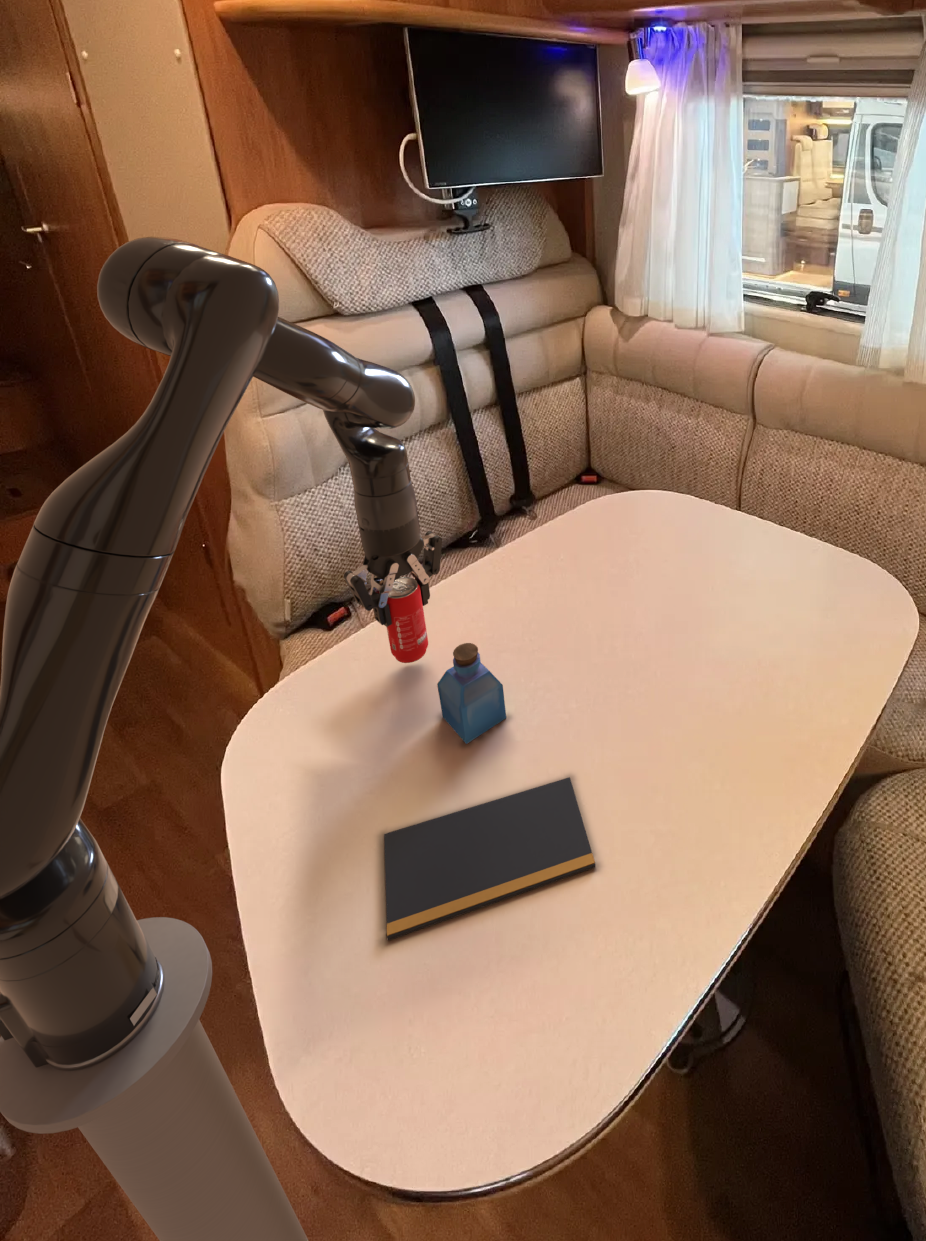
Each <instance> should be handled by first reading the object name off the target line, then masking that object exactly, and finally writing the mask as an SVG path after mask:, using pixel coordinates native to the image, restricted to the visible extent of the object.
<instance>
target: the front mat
mask: <svg viewBox="0 0 926 1241" xmlns="http://www.w3.org/2000/svg"><path fill="white" fill-rule="evenodd" d="M584 824H585V823H584V821H583V817H582V813H581V810H580V807H579V803H578V800H577V797H576V792H575V789H574V787H573V783H572V779H571V777H570V776H569V777H565V778H563V779H559V780H555V781H553V782H549V783H546V784H543V785H540V786H536V787H533V788H530V789H526V790H523V791H520V792H517V793H513V794H510V795H507V796H503V797H501V798H497V799H494V800H490V801H488V802H485V803H480V804H478V805H474V806H471V807H468V808H464V809H461V810H458V811H455V812H452V813H451V812H450V813H448V814H444V815H441V816H438V817H434V818H431V819H428V820H426V821H422V822H419V823H415V824H413V825H409V826H406V827H402V828H399V829H396V830H393V831H389V832H386V833H384V834H383V842H384V843H383V844H384V848H383V849H384V875H385V876H384V878H385V909H386V910H385V911H386V914H385V915H386V938H387V941H392V940H393V939H396V938H399V937H402V936H404V935H407V934H410V933H411V934H412V933H413V932H416V931H419V930H422V929H425V928H428V927H430V926H433V925H436V924H439V923H442V922H445V921H448V920H450V919H453V918H456V917H459V916H462V915H465V914H467V913H470V912H473V911H476V910H479V909H481V908H484V907H487V906H489V905H492V904H495V903H499V902H501V901H504V900H506V899H510V898H512V897H516V896H519V895H521V894H525V893H527V892H530V891H532V890H536V889H538V888H541V887H544V886H546V885H549V884H552V883H555V882H558V881H560V880H563V879H566V878H569V877H571V876H575V875H578V874H581V873H583V872H586V871H588V870H591V869H594V868H596V861H595V858H594V854H593V852H592V847H591V845H590V844H591V843H590V841H589V837H588V834H587V831H586V828H585V825H584Z"/></svg>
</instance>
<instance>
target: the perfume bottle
mask: <svg viewBox="0 0 926 1241" xmlns="http://www.w3.org/2000/svg"><path fill="white" fill-rule="evenodd" d="M452 656H453V659H452V663H453V665H452V667H450V668H448V669H446V671H445V672H444V673H443V675H442V676H441V678H440V679H439V680H438V682H437V684H436V685H437V691H438V697H439V703H440V709H441V715H442V719H443V720H444V721H445V722H446V723H447V724H448V726H450V727H451V729H452V730H453V731H454V732H455V734H457V736H459V738H460V739H461V740H462V742H464V743H465V744H466V745H467V744H469V743H471V742H472V741H473V740H476V739H477V738H478V737H480V736H481V735H483V734H484V733H487V731H489V730H490V729H492V728H494V727H495V726H497V725H498V724H500V723H501V722H503V721H504V720H506V719H507V712H506V711H507V710H506V702H505V693H504V692H505V691H504V685H503V683H501V681H500V680H499V679H498V678H497V677H496V675H494V674H493V672H492V671H490V670H489V669H488V667H486V666H485V665H484V664H483V663H482V661H481V654H480V652H479V648H478V646H477V644H475V643H471V642H464V643H461V644H458V646H456V647H455V648H454V649H453V651H452Z"/></svg>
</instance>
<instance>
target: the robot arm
mask: <svg viewBox="0 0 926 1241" xmlns="http://www.w3.org/2000/svg"><path fill="white" fill-rule="evenodd" d="M96 292H97V296H96V297H97V300H98V304H99V307H100V310H101V312H102V314H103V316H104V317H105V319H106V320H107V322H109V324H110V325H111V327H113V329H115V330H116V331H117V332H119V334H121V335H122V336H124V337H125V338H126V339H128V340H130V341H132V342H133V343H135V344H138V345H139V346H141V347H143V348H146V349H148V350H152V351H154V352H158V353H160V354H163V355H166V356H168V357H169V362H168V364H167V367H166V369H165V371H164V374H163V376H162V379H161V380H160V382H159V384H158V386H157V389H155V392H154V394H153V397H152V398H151V400H150V403H149V404H148V405H147V407H146V409H145V410H144V412H143V413H142V415H141V416H140V417H139V418H138V419H137V421H136V422H135V423H134V424H133V425H132V426H131V427H130V428H129V429H128V431H126V432H125V433H124V434H123V435H121V436H120V437H119V438H118V439H117V440H115V441H114V442H113V443H112V444H110V445H109V446H108V447H106V448H104V449H103V450H101V452H99V453H98V454H97V455H95V456H93V458H91V459H90V460H89V461H87V462H85V463H84V464H83V465H82V466H81V467H79V468H78V469H77V470H76V471H74V472H73V473H72V474H71V475H69V476H68V477H67V478H66V479H64V481H63V482H62V483H60V484H59V485H58V486H57V487H56V488H55V489H54V490H53V491H52V492H51V493H50V495H49V496H47V498H46V499H45V500H44V503H43V504H42V506H41V507H40V509H39V511H38V513H37V515H36V517H35V520H34V521H33V525H32V527H31V529H30V532H29V535H28V537H27V539H26V542H25V543H24V546H23V549H22V551H21V552H20V553H21V554H20V556H19V558H18V560H17V563H16V564H15V568H14V570H13V573H12V577H11V579H10V584H9V587H8V591H7V595H6V604H5V611H4V620H3V631H2V644H1V645H2V646H1V674H0V1037H1V1036H2V1038H3V1039H4V1040H8V1039H11V1038H15V1040H16V1041H17V1043H18V1044H19V1045H20V1047H21V1048H22V1049H23V1051H24V1052H25V1054H26V1055H27V1056H28V1058H29V1059H30V1061H31V1062H32V1063H33V1065H34V1066H35V1067H36V1068H37V1067H40V1066H43V1065H47V1064H49V1065H51V1066H52V1067H53V1068H56V1069H58V1070H62V1071H76V1070H81V1069H85V1068H88V1067H91V1066H94V1065H96V1064H98V1063H100V1062H102V1061H104V1060H106V1059H108V1058H109V1057H111V1056H112V1055H114V1054H116V1053H117V1052H118V1051H120V1050H121V1049H122V1048H123V1047H125V1046H126V1045H127V1044H128V1043H129V1042H130V1041H132V1040H133V1039H134V1038H135V1037H136V1036H137V1035H138V1034H139V1032H140V1031H141V1030H142V1029H143V1028H144V1027H145V1025H146V1024H147V1023H148V1021H149V1020H150V1018H151V1017H152V1015H153V1014H154V1012H155V1010H156V1009H157V1007H158V1005H159V1002H160V1000H161V997H162V994H163V990H164V985H165V976H164V971H163V969H162V966H161V964H160V963H159V961H158V960H157V958H156V957H155V956H154V954H153V952H152V950H151V948H150V946H149V944H148V942H147V940H146V938H145V936H144V934H143V932H142V930H141V928H140V926H139V924H138V922H137V920H138V919H137V918H136V916H135V914H134V912H133V910H132V907H131V906H130V904H129V903H128V900H127V899H126V896H125V895H124V893H123V890H122V888H121V886H120V885H119V883H118V881H117V879H116V877H115V875H114V873H113V871H112V869H111V867H110V865H109V864H108V861H107V860H106V858H105V855H104V854H103V852H102V850H101V848H100V846H99V844H98V841H97V840H96V838H95V837H94V836H93V834H92V833H91V831H90V830H89V829H88V827H87V826H86V824H85V823H84V821H83V820H82V818H81V816H82V813H83V810H84V807H85V804H86V800H87V797H88V793H89V790H90V786H91V782H92V778H93V775H94V771H95V769H96V768H95V766H96V763H97V759H98V756H99V752H100V749H101V745H102V742H103V737H104V733H105V730H106V727H107V724H108V720H109V717H110V714H111V712H112V707H113V705H114V702H115V700H116V697H117V695H118V692H119V690H120V687H121V685H122V682H123V680H124V677H125V675H126V672H127V669H128V667H129V665H130V662H131V659H132V657H133V654H134V652H135V649H136V646H137V643H138V641H139V639H140V635H141V632H142V630H143V627H144V625H145V622H146V620H147V618H148V615H149V613H150V611H151V608H152V607H153V604H154V603H155V601H156V598H157V596H158V593H159V591H160V589H161V586H162V583H163V581H164V579H165V577H166V574H167V571H168V570H169V566H170V564H171V562H172V560H173V556H174V554H175V551H176V549H177V545H178V543H179V540H180V538H181V534H182V532H183V529H184V526H185V523H186V520H187V517H188V514H189V512H190V510H191V507H192V505H193V503H194V500H195V499H196V498H195V497H196V495H197V494H198V491H199V488H200V486H201V484H202V482H203V479H204V476H205V474H206V472H207V470H208V468H209V465H210V464H211V460H212V457H213V456H214V454H215V451H216V449H217V447H218V445H219V442H220V441H221V438H222V437H223V435H224V433H225V430H226V428H227V426H228V425H229V423H230V421H231V419H232V417H233V415H234V414H235V411H236V410H237V408H238V406H239V404H240V402H241V400H242V398H243V397H244V395H245V393H246V391H247V389H248V387H249V385H250V383H251V381H252V380H253V378H255V379H257V380H259V381H261V382H263V383H265V384H266V385H269V386H271V387H273V388H275V389H276V390H279V391H281V392H283V393H284V394H287V395H289V396H290V397H293V398H295V399H297V400H299V401H302V402H304V403H306V404H308V405H310V406H313V407H315V408H317V409H319V410H322V412H323V415H324V418H325V420H326V422H327V424H328V426H329V428H330V430H331V432H332V434H333V435H334V437H335V439H336V441H337V442H338V443H337V444H339V447H340V448H341V451H342V452H343V454H344V456H345V457H346V460H347V461H348V464H349V471H350V476H351V480H352V487H353V499H354V500H353V503H354V510H355V514H356V519H357V526H358V531H359V535H360V541H361V542H360V543H361V546H362V550H363V554H364V556H363V557H364V558H363V560H362V565H361V566H360V567H358V568H357V569H355V570H354V571H352V570H347V571H345V572H344V574H343V579H344V581H345V582H346V584H347V586H348V589H349V590H350V592H351V594H352V597H353V599H354V600H355V602H356V604H358V605H359V606H361V607H362V608H364V610H366V611H367V612H370V611H372V610H373V614H374V620H375V621H376V622H377V623H379V624H380V625H381V626H385V628H387V627H388V626H390V625H391V624H392V620H391V615H390V609H389V604H387V600H388V595H389V592H391V591H392V588H393V584H394V581H395V580H397V579H398V578H399V577H404V576H406V575H408V574H410V575H411V577H412V578H413V579H415V580H416V581H417V583H418V585H419V586H420V590H421V597H422V604H423V607H424V606H426V605H429V600H430V598H431V591H430V584H429V582H430V578H432V576H433V575H434V576H437V575H438V574H439V572H440V570H441V558H442V546H443V538H442V537H441V536H439V535H438V534H436V533H434V532H433V531H431V530H428V531H426V532H425V534H424V536H422V532H421V526H420V519H419V511H418V505H417V502H418V501H417V497H416V492H415V489H414V485H413V483H412V478H411V477H412V476H411V470H410V464H409V456H408V451H407V447H406V445H405V443H404V442H403V441H402V440H401V439H399V438H397V437H395V436H392V435H389V434H386V433H383V432H381V431H379V430H377V429H381V430H391V429H392V430H393V429H397V428H399V427H401V426H403V425H404V424H405V423H407V422H408V421H409V419H410V418H411V417H412V415H413V413H414V411H415V407H416V396H415V392H414V389H413V386H412V385H411V383H410V381H409V380H408V379H407V378H406V377H405V376H404V375H402V373H400V372H398V371H397V370H394V369H393V368H390V367H387V366H385V365H381V364H378V363H375V362H372V361H368V360H365V359H361V358H359V357H356V356H355V355H353V354H352V353H350V352H349V351H347V350H346V349H344V348H343V347H341V346H340V345H338V344H336V343H335V342H333V341H331V340H330V339H328V338H326V337H324V336H322V335H320V334H318V333H316V332H314V331H312V330H309V329H307V328H305V327H303V326H301V325H298V324H296V323H294V322H291V321H289V320H287V319H284V318H282V317H280V316H279V311H280V296H279V290H278V288H277V284H276V282H275V280H274V279H273V278H272V276H271V275H270V274H269V273H268V272H267V271H265V269H263V268H261V266H257V265H256V264H252V263H251V262H248V261H245V260H242V259H239V258H236V257H234V256H231V255H228V254H224V253H221V252H219V251H216V250H213V249H209V248H206V247H203V246H200V245H198V244H195V243H192V242H190V241H186V240H182V239H177V238H173V237H167V236H145V237H138V238H135V239H132V240H130V241H129V240H128V241H127V242H125V243H124V244H121V246H118V247H117V248H116V249H115V250H114V251H113V252H112V253H111V254H110V255H109V256H108V258H106V260H105V261H104V263H103V265H102V267H101V268H100V271H99V274H98V278H97V285H96ZM422 551H423V558H422V564H421V562H420V561H419V558H420V555H421V553H422ZM369 573H370V574H371V575H370V586H371V587H370V592H369V591H368V588H367V587H366V585H367V584H368V578H367V576H368V574H369Z"/></svg>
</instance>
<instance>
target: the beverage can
mask: <svg viewBox="0 0 926 1241" xmlns="http://www.w3.org/2000/svg"><path fill="white" fill-rule="evenodd" d="M387 604H389V609H390V615H391V620H392V624H391V625H390V626H388V627H386V632H387V638H388V643H389V649H390V653H391V655H392V656H393V657H394V658H395V659H396V661H397V662H399V663H401V664H402V663H403V664H411V663H415V662H417V661H420V660H421V659H422V658H423V657H424V656H425V655H426V652H427V649H428V647H429V639H428V631H427V624H426V618H425V612H424V611H425V610H424V606H423V604H422V597H421V590H420V586H419V585H418V583H417V581H416V580H415V578H414V577H412V576H411V577H409V576H401V577H399V578H398V579H397V580H395V581H394V584H393V588H392V591H391V592H389V595H388V600H387Z"/></svg>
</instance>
